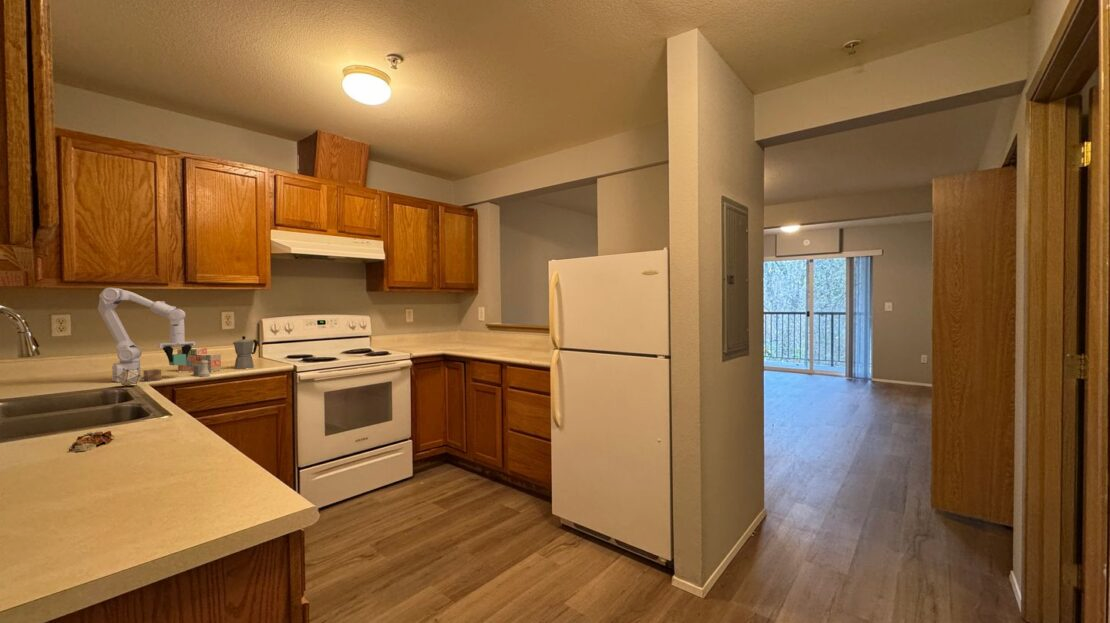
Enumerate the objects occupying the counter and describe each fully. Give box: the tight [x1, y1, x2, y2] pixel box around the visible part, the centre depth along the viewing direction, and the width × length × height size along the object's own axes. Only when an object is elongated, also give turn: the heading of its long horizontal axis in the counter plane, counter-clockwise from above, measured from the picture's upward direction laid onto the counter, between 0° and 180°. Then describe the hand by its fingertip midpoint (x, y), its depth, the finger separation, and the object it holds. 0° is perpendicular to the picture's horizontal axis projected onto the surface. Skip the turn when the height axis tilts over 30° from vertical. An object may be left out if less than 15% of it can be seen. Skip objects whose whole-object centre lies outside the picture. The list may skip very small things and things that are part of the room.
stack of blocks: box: [176, 347, 222, 373], centre depth 252 cm, size 21×6×12 cm, turn 79°
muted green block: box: [168, 353, 186, 366], centre depth 229 cm, size 5×5×5 cm
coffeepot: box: [232, 335, 259, 370], centre depth 263 cm, size 15×9×18 cm, turn 165°
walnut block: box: [142, 368, 162, 383], centre depth 220 cm, size 5×5×5 cm
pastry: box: [68, 430, 115, 454], centre depth 117 cm, size 7×12×4 cm, turn 33°
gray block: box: [192, 365, 211, 377], centre depth 238 cm, size 5×5×5 cm
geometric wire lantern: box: [116, 368, 144, 386], centre depth 204 cm, size 9×8×10 cm
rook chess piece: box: [199, 360, 211, 378], centre depth 232 cm, size 4×4×8 cm
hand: (177, 361), depth 229 cm, fingers closed on muted green block, 5 cm apart
